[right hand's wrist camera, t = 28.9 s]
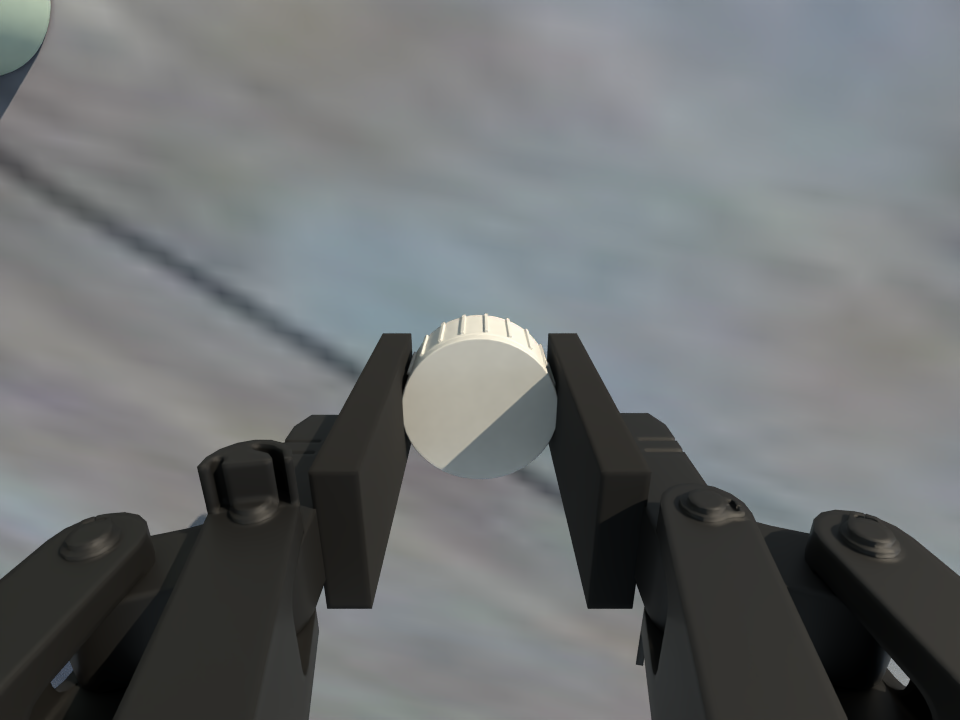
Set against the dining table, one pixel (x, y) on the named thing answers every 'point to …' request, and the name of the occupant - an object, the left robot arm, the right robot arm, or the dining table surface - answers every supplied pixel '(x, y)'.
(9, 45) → the bottle
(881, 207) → the dining table surface
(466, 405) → the cap
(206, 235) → the dining table surface
